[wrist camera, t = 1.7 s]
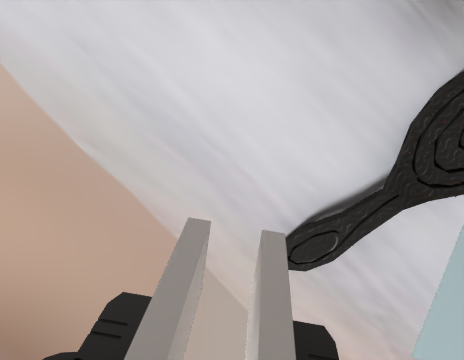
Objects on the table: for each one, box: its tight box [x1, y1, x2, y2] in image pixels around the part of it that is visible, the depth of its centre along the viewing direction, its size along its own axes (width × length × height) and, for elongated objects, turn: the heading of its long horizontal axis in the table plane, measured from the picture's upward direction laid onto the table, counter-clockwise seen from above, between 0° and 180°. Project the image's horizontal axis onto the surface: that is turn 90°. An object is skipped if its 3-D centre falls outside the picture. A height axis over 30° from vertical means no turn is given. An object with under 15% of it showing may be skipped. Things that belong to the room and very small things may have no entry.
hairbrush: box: [286, 72, 464, 271], centre depth 26 cm, size 8×4×25 cm
